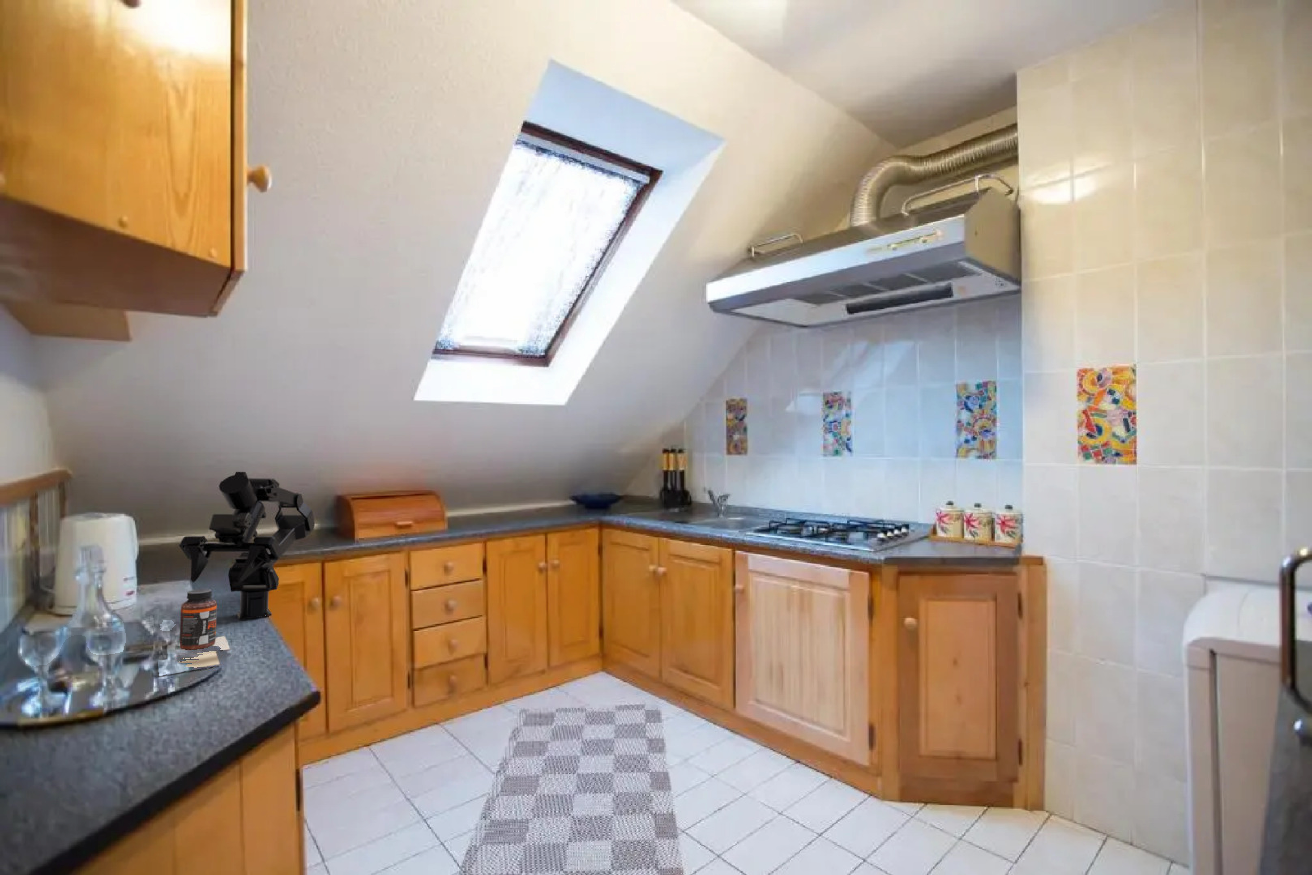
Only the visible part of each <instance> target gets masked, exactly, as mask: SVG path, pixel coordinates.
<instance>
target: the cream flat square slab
mask: <svg viewBox="0 0 1312 875" xmlns="http://www.w3.org/2000/svg"><path fill="white" fill-rule="evenodd" d="M212 646H219V647H220V648H221V649H220V650H223V651H228V650H230V649H231V647H230V646H229V643H228V640H227V638H226V635H223V636H218V637H217V636H216V639H215V644H214V645H212Z"/></svg>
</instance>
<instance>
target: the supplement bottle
mask: <svg viewBox="0 0 1312 875" xmlns="http://www.w3.org/2000/svg"><path fill="white" fill-rule="evenodd" d="M212 592H213V591H212V589H210V588H198V589H193V590H188V591H187V593H186V594H187V595H186V599H187V600H185V602H183V603H182V604H181V606H180V617H179V618H180V623H179V624H180V626H179V643H180V648H181V649H185V650H197V649H204V648H208V647H210V646H212V645H214V644H215V639H216V637H217V634H216V632H217V613H218V612H217V611H218V610H217V607H218V606H217V605H218V604H217V601H216V600H215V599H213V598H212Z"/></svg>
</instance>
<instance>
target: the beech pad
mask: <svg viewBox="0 0 1312 875" xmlns="http://www.w3.org/2000/svg"><path fill="white" fill-rule="evenodd" d="M197 654H203V655H199V656H198V657H194V658H191V659H199V660H186V661H182V662H180V661H179V663H192V664H187V665H186V667H194V668H197V667H207V666H214V665H220V661H219V660H220V659H219V657H218V654H217V651H209V652H203V653H197ZM183 659H184V658H183ZM185 659H190V658H185ZM220 666H221V665H220Z"/></svg>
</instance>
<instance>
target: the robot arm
mask: <svg viewBox="0 0 1312 875" xmlns="http://www.w3.org/2000/svg"><path fill="white" fill-rule="evenodd" d="M218 489H219V491H220V492H221V494H222V496H223V498H224V500H225V502H226V504H227V506H228V507H229V508H230V509H233V512H232V513H231V514H229V513H218V514H216V513H213V514H212V516H211V519H210V523H209V527H208V530H209V531H213V532H215V534H214V535H213V536H214V537H215V539H218V541H208V540H207V537H206V536H205V535H186V536H184V537H183V538H182V539H181V540H180V543H179V544H178V546H179V548H180V549H181V550H182V552H183V554H184V555H185V556H186V558H187V559H188V560H190V562H191V563H190V564H191V566H190V581H191V582H192V583H195V582H196V581H197V580H198V578H200V576H201V574H202V572H203V571H204V569H205V568H206V566H207V565H208V563H209V560H208V559H209V558H210V557H211V556H212V554H213V553H212V552H221V553H222V552H229V553H240V555H239V556H238V557H237V558H235V562H234V563H233V564H232V565H231V566H230V568H229V570H228V575H227V576H228V581H229V588H230V592H232V593H233V592H240V600H239V604H240V605H239V611H236V616H237V617H238V619H239V621H241V620H250V619H258V618H264V617H271V616H272V615H273V613H272V612H271V611H270V609H269V596H270V595H269V593H270V592H271V591H274V590H277V589H278V588H279V583H280V582H279V581H280V577H279V576H278V574H277V572H276V570H275V568H274V565H275V563H276V562H277V561H279V559H280V558H281V557H282V556H283V555H284V554H285V552H286V551H287V550H288V549H289V548H290V547H291V546H292V545H293V543H294V542H295V541H299V540H302V539H306V538H307V537H308V536H310V535H311V534H312V532H313V531H314V529H315V526H316V525H315V524H316V523H315V518H314V514H313V509H311V508H310V506H308V505H307V504H306V503H305V501H304V498H303V495H302V494H301V493H299V492H293V491H290V490H288V489H286V488H282V487H280V483H279V482H278V481H277V480H276V479H275V478H268V477H266V478H260V477H259V478H258V477H255V478H254V477H248V474H247V473H246V471H235V472H234V474H233V475H230V476H228V477H226V478H224V479H223V480H221V481H220V482H219V485H218ZM264 503H269V504H272V505H275V506H278V510H277V512H276V515H275V517H274V522H275V526H276V528H277V531H275V533H273V535H271V536H269V535H262V536H261V535H258V534H259V533H258V532H257V529H258V527H259V526H258V525H259V523H260V521H261V519H266V518H267V513H266V511H265V510H266V508H265V506H264ZM284 508H285V509H287V508H289V509H294V508H295V509H296V510H297V512H298V513H300V514H296V513H295V514H292V513H291V514H283V509H284ZM257 535H258V536H257ZM253 538H254V539H253ZM252 539H253V540H252ZM265 615H266V616H265Z"/></svg>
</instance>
